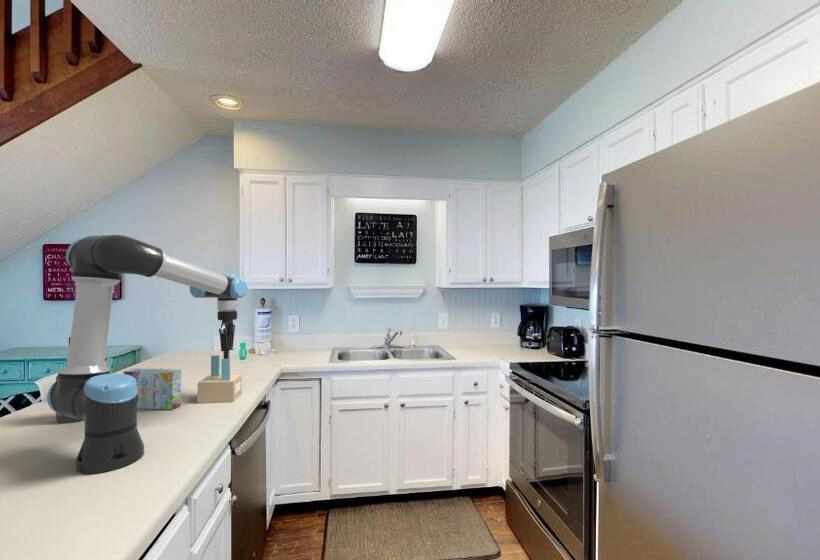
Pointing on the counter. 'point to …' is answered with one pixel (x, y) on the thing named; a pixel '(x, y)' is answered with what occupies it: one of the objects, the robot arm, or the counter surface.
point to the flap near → (224, 374)
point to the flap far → (217, 369)
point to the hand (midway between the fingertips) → (227, 365)
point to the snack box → (157, 388)
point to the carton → (219, 392)
